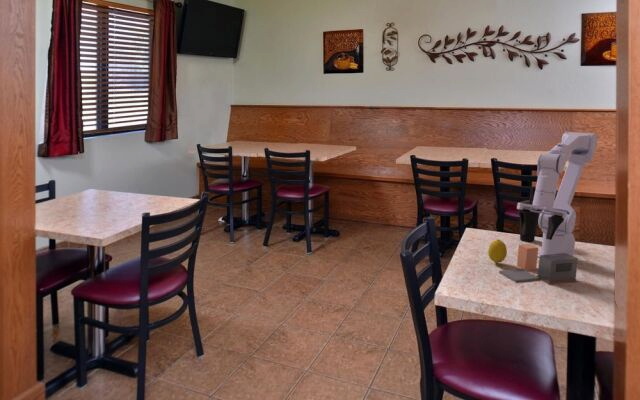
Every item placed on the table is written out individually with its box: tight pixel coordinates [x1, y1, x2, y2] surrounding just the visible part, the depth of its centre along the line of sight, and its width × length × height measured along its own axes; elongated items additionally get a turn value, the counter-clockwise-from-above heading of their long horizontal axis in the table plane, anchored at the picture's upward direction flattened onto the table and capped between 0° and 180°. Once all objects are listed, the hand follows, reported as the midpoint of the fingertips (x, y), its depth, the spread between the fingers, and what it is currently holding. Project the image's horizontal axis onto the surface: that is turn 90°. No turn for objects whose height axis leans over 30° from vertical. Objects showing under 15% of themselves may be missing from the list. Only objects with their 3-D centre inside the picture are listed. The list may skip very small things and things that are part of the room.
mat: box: [498, 268, 540, 283], centre depth 152 cm, size 8×8×1 cm
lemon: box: [487, 239, 508, 264], centre depth 162 cm, size 6×6×8 cm
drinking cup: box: [519, 186, 541, 243], centre depth 187 cm, size 8×8×20 cm
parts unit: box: [536, 253, 579, 285], centre depth 149 cm, size 9×6×7 cm, turn 105°
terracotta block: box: [516, 243, 539, 271], centre depth 159 cm, size 4×4×7 cm
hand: (536, 237), depth 154 cm, fingers open, 7 cm apart
